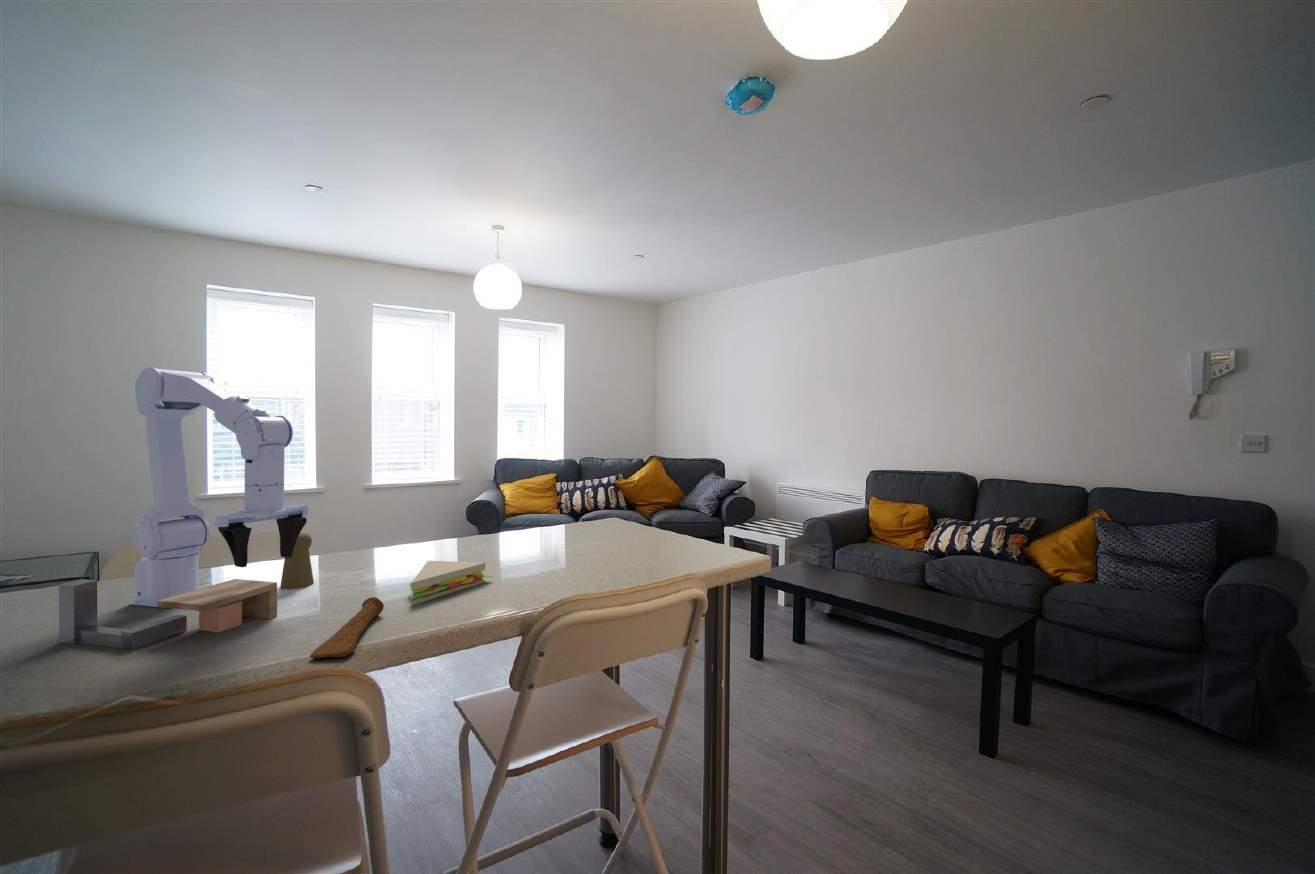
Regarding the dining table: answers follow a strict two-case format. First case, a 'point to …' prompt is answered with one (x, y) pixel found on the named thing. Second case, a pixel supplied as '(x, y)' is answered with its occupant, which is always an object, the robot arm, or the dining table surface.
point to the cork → (298, 565)
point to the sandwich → (445, 579)
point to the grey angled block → (83, 628)
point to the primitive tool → (349, 631)
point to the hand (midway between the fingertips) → (264, 561)
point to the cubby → (229, 598)
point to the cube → (221, 617)
